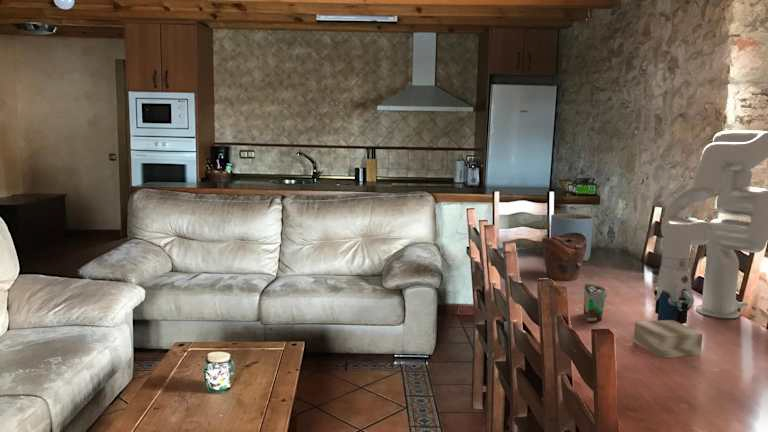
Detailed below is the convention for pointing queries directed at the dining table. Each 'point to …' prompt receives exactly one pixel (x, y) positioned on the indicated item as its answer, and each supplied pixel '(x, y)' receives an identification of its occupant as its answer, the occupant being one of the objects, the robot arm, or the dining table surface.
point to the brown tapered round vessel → (564, 255)
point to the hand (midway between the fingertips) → (670, 318)
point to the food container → (594, 302)
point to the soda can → (667, 307)
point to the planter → (573, 227)
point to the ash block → (667, 338)
